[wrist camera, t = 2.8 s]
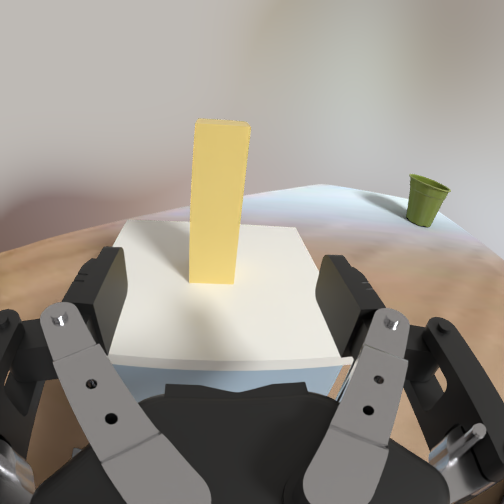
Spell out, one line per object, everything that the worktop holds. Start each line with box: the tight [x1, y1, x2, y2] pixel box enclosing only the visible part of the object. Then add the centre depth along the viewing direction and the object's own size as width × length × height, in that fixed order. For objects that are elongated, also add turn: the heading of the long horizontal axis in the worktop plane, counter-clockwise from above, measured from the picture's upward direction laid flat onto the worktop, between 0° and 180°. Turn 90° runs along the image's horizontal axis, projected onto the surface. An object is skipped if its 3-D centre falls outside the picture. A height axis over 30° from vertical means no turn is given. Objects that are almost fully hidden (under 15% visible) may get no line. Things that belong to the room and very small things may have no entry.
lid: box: [107, 119, 354, 371], centre depth 23 cm, size 19×19×13 cm
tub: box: [112, 364, 343, 403], centre depth 28 cm, size 18×18×8 cm
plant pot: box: [406, 174, 451, 227], centre depth 69 cm, size 12×12×11 cm
